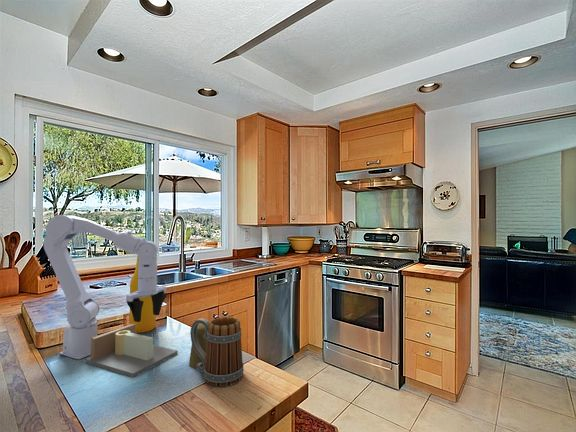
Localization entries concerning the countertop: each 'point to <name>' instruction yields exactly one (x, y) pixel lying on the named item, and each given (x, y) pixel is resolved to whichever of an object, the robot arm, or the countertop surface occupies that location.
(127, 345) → the door
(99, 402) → the countertop surface
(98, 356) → the cabinet base
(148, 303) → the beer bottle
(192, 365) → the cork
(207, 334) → the mug
